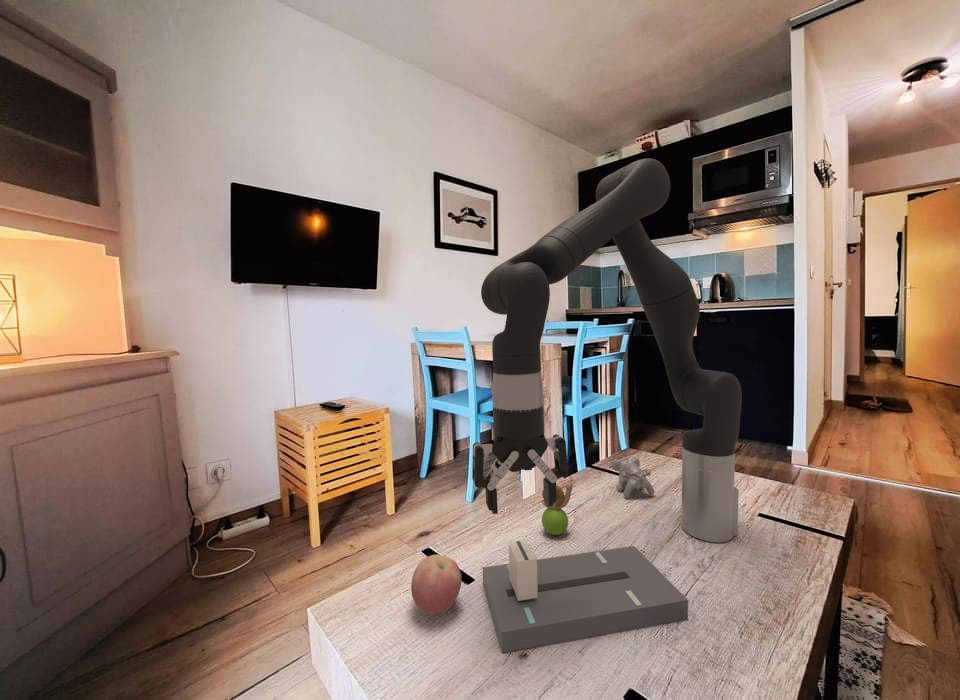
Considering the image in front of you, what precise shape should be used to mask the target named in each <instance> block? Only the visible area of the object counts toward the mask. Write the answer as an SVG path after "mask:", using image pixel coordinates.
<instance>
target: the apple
mask: <svg viewBox="0 0 960 700" xmlns="http://www.w3.org/2000/svg"><path fill="white" fill-rule="evenodd" d="M410 584H411V585H410V589H411V590H410V591H411V596H412V599H413V602H414V603H415V605H416V607H417V609H419V610H421V612H423V613H426V614H428V615H429V614H431V615H440V614H443V613H446V612H447V611H449V609H450V608H451V607H452V606H453V604H455V602H456V600H457V598H458V596H459V594H460V591H461V586H462V573H461V569H460V566H459V564H458V563H457V562H456V561H455V560H454V559H452V558H451V557H449V556H445V555H441V554H431V555H428V556H427V557H425V558H423V559H422V560H421V561H420V562H419V563H418V564H417V566H416V567H415V569H414V571H413V574H412V579H411V583H410Z"/></svg>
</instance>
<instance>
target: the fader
mask: <svg viewBox="0 0 960 700" xmlns="http://www.w3.org/2000/svg"><path fill="white" fill-rule="evenodd" d="M537 560H538V559H537V557H536V555H535V553H534V551H533V549H532V547H531V545H530V543H529V542H528V540H517V541H512V542H508V564H509V577H510V581H511V584H512V586H513V589H514V592H515V594H516V597H517V599H518V601H521V600H527V599H533V598H538V589H537Z"/></svg>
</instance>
